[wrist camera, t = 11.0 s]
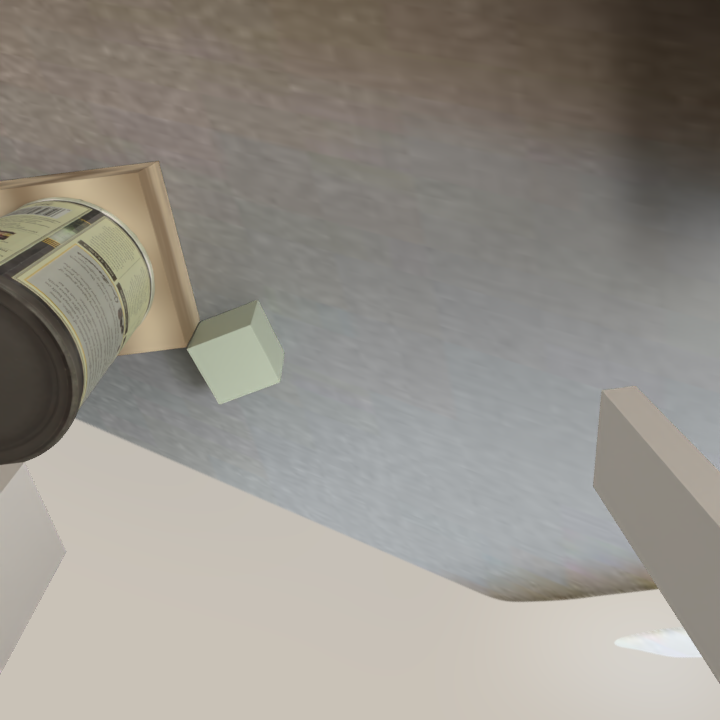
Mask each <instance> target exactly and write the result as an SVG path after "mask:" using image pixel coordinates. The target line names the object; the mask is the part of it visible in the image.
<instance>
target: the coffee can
mask: <svg viewBox="0 0 720 720" xmlns="http://www.w3.org/2000/svg"><path fill="white" fill-rule="evenodd" d="M154 294H155V280H154V272H153V268H152V264H151V261H150V259H149V256H148V254H147V252H146V250H145V248H144V247H143V245H142V244H141V242H140V241H139V239H138V237H137V236H136V235H135V233H133V232H132V231H131V230H130V229H129V227H128V226H127V225H126V224H125V223H123V222H122V221H121V220H120V219H119V218H117V217H116V216H115V215H113V214H112V213H110V212H108V211H107V210H105V209H103V208H101V207H99V206H97V205H95V204H92V203H89V202H86V201H83V200H81V199H74V198H66V197H52V198H44V199H39V200H36V201H32V202H30V203H27V204H25V205H23V206H22V207H19V208H18V209H17V210H15V211H13V212H11V213H9V214H6V215H4V216H2V217H0V465H5V464H13V463H21V462H25V461H28V460H30V459H33V458H35V457H37V456H39V455H41V454H42V453H44V452H46V451H47V450H49V449H50V448H51V447H52V446H54V445H55V444H56V443H57V442H58V441H59V440H60V439H61V438H62V437H63V435H64V434H65V433H66V432H67V430H68V429H69V427H70V426H71V424H72V422H73V421H74V419H75V417H76V414H77V412H78V410H79V409H80V407H81V406H82V404H83V403H84V402H85V400H86V399H87V397H88V396H89V395H90V393H91V392H92V390H93V389H94V388H95V386H96V385H97V383H98V382H99V381H100V379H101V378H102V376H103V375H104V374H105V372H106V371H107V369H108V368H109V366H110V365H111V364H112V362H113V361H114V360H115V358H116V357H117V355H118V354H119V352H120V351H121V350H122V348H123V347H124V345H125V344H126V343H127V341H128V340H129V338H130V337H131V335H132V334H133V333H134V331H135V330H136V329H137V328H138V327H139V326H140V325H141V323H142V322H143V321H144V319H145V318H146V316H147V314H148V312H149V310H150V308H151V306H152V302H153V298H154Z"/></svg>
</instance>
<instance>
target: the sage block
mask: <svg viewBox="0 0 720 720" xmlns="http://www.w3.org/2000/svg"><path fill="white" fill-rule="evenodd" d="M187 350H188V352H189V354H190V356H191V357H192V359H193V361H194V362H195V364H196V366H197V367H198V369H199V371H200V373H201V374H202V376H203V378H204V379H205V381H206V383H207V385H208V386H209V388H210V390H211V391H212V393H213V395H214V396H215V398H216V400H217V402H218V403H219V405H220V404H223V403H225V402H228V401H231V400H233V399H236V398H239V397H242V396H244V395H247V394H250V393H252V392H255V391H258V390H261V389H263V388H266V387H269V386H271V385H274V384H277V383H280V381H281V374H282V367H283V360H284V351H283V349H282V347H281V345H280V343H279V341H278V339H277V337H276V335H275V333H274V331H273V329H272V327H271V325H270V323H269V321H268V319H267V317H266V315H265V313H264V311H263V309H262V307H261V305H260V303H259V301H258V300H256V301H253V302H251V303H248V304H245V305H243V306H240V307H238V308H235V309H233V310H230V311H227V312H225V313H222V314H220V315H217V316H215V317H212V318H209V319H207V320H204V321H202V322H200V323H199V325H198V327H197V329H196V331H195V333H194V336H193V338H192V340H191V342H190V344H189V346H188V348H187Z"/></svg>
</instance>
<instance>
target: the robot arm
mask: <svg viewBox="0 0 720 720" xmlns="http://www.w3.org/2000/svg"><path fill="white" fill-rule="evenodd" d="M593 487H594V489H595V490H596V492H597V493H598V495H599V496H600V498H601V500H602V501H603V503H604V504H605V506H606V507H607V509H608V510H609V512H610V514H611V515H612V517H613V518H614V520H615V521H616V523H617V524H618V526H619V528H620V529H621V531H622V532H623V534H624V535H625V537H626V539H627V540H628V542H629V543H630V545H631V546H632V548H633V549H634V551H635V553H636V554H637V556H638V557H639V559H640V560H641V562H642V563H643V565H644V567H645V568H646V570H647V571H648V573H649V574H650V576H651V577H652V579H653V581H654V582H655V584H656V585H657V587H658V588H659V590H660V592H661V593H662V595H663V596H664V598H665V599H666V601H667V602H668V604H669V606H670V607H671V609H672V610H673V612H674V613H675V615H676V616H677V618H678V620H679V621H680V623H681V624H682V626H683V627H684V629H685V630H686V632H687V634H688V635H689V637H690V638H691V640H692V641H693V643H694V645H695V646H696V648H697V649H698V651H699V652H700V654H701V655H702V657H703V659H704V660H705V662H706V663H707V665H708V666H709V668H710V669H711V671H712V673H713V674H714V676H715V677H716V679H717V680H718V682H719V683H720V472H719V471H718V470H717V469H716V468H715V467H714V466H713V465H712V464H711V463H710V461H709V460H708V459H707V458H706V457H705V456H704V455H703V454H702V453H701V452H700V451H699V450H698V449H697V448H696V447H695V446H694V445H693V444H692V443H691V442H690V441H689V440H688V439H687V438H686V437H685V436H684V435H683V434H682V433H681V432H680V431H679V430H678V429H677V428H676V427H675V426H674V425H673V424H672V423H671V422H670V421H669V420H668V419H667V418H666V417H665V416H664V415H663V414H662V412H661V411H660V410H659V409H658V408H657V407H656V406H655V405H654V404H653V403H652V402H651V401H650V400H649V399H648V398H647V397H646V396H645V395H644V394H643V393H642V392H641V391H640V390H639V389H638V388H637V387H636V386H631V387H623V388H615V389H607V390H602V392H601V403H600V414H599V425H598V437H597V448H596V459H595V470H594V481H593ZM65 553H66V550H65V548H64V546H63V543H62V541H61V539H60V537H59V535H58V533H57V531H56V528H55V526H54V524H53V522H52V520H51V518H50V515H49V514H48V511H47V509H46V507H45V505H44V503H43V500H42V498H41V496H40V494H39V492H38V490H37V488H36V486H35V483H34V481H33V479H32V477H31V475H30V473H29V471H28V468H27V466H26V465H25V462H21V463H13V464H5V465H0V674H1V672H2V670H3V668H4V667H5V665H6V663H7V661H8V659H9V657H10V655H11V653H12V652H13V650H14V648H15V646H16V644H17V642H18V641H19V639H20V637H21V635H22V633H23V631H24V629H25V627H26V626H27V624H28V622H29V620H30V618H31V616H32V615H33V613H34V611H35V609H36V607H37V605H38V603H39V602H40V600H41V598H42V596H43V594H44V592H45V590H46V588H47V587H48V585H49V583H50V581H51V579H52V577H53V576H54V574H55V572H56V570H57V568H58V566H59V564H60V563H61V561H62V559H63V557H64V555H65Z"/></svg>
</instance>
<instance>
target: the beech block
mask: <svg viewBox="0 0 720 720" xmlns="http://www.w3.org/2000/svg"><path fill="white" fill-rule="evenodd" d="M52 197H66V198H74V199H81V200H83V201H86V202H89V203H92V204H95V205H97V206H99V207H101V208H103V209H105V210H107V211H108V212H110V213H112V214H113V215H115V216H116V217H117V218H119V219H120V220H121V221H122V222H123V223H125V224H126V225H127V226H128V227H129V229H130V230H131V231H132V232H133V233H135V235H136V236H137V237H138V239H139V241H140V242H141V244H142V245H143V247H144V248H145V250H146V252H147V254H148V256H149V259H150V261H151V264H152V268H153V272H154V280H155V294H154V298H153V302H152V306H151V308H150V310H149V312H148V314H147V316H146V318H145V319H144V321H143V322H142V323H141V325H140V326H139V327H138V328H137V329H136V330H135V331H134V333H133V334H132V335H131V337H130V338H129V340H128V341H127V343H126V344H125V345H124V347H123V348H122V350H121V351H120V352H119V354H118V355H117V356H120V355H128V354H136V353H144V352H152V351H160V350H168V349H176V348H184V347H187V345H188V343H189V341H190V339H191V337H192V335H193V333H194V331H195V329H196V327H197V325H198V323H199V321H200V318H199V314H198V311H197V307H196V303H195V299H194V295H193V291H192V287H191V284H190V280H189V276H188V272H187V268H186V264H185V261H184V257H183V253H182V249H181V245H180V241H179V237H178V234H177V230H176V226H175V222H174V218H173V214H172V211H171V207H170V203H169V199H168V195H167V191H166V187H165V184H164V180H163V176H162V172H161V168H160V164H159V161H155V162H148V163H140V164H132V165H124V166H116V167H108V168H100V169H92V170H84V171H76V172H69V173H61V174H53V175H45V176H37V177H29V178H21V179H13V180H5V181H0V217H2V216H4V215H6V214H9V213H11V212H13V211H15V210H17V209H18V208H19V207H22V206H23V205H25V204H27V203H30V202H32V201H36V200H39V199H44V198H52Z"/></svg>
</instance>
